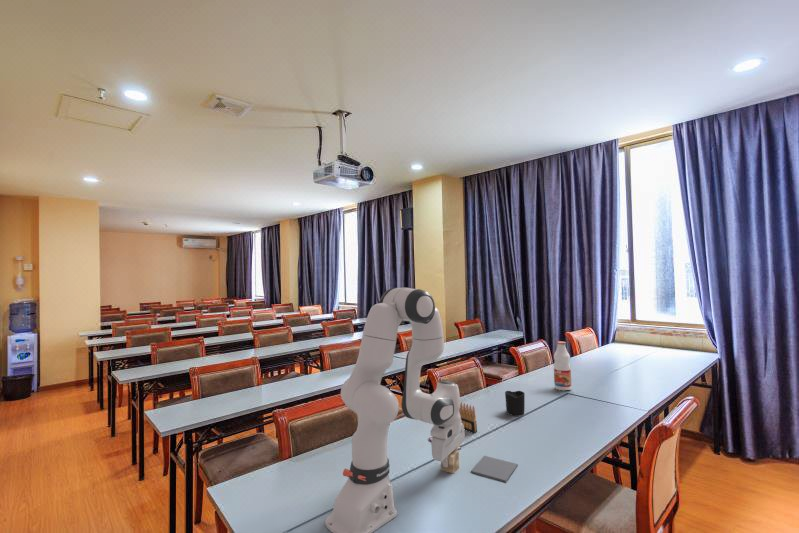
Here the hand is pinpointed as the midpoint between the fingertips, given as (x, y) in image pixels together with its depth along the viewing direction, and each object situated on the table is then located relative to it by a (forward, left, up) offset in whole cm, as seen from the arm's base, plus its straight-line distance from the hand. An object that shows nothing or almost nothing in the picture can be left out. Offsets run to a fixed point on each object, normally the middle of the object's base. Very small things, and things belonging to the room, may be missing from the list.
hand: (450, 462), depth 141 cm
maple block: (0, 0, -2) cm, 2 cm away
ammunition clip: (+35, +9, -3) cm, 36 cm away
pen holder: (+66, -4, -2) cm, 66 cm away
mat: (+8, -14, -2) cm, 16 cm away
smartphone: (+17, +11, -3) cm, 20 cm away
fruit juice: (+117, -17, -2) cm, 118 cm away
